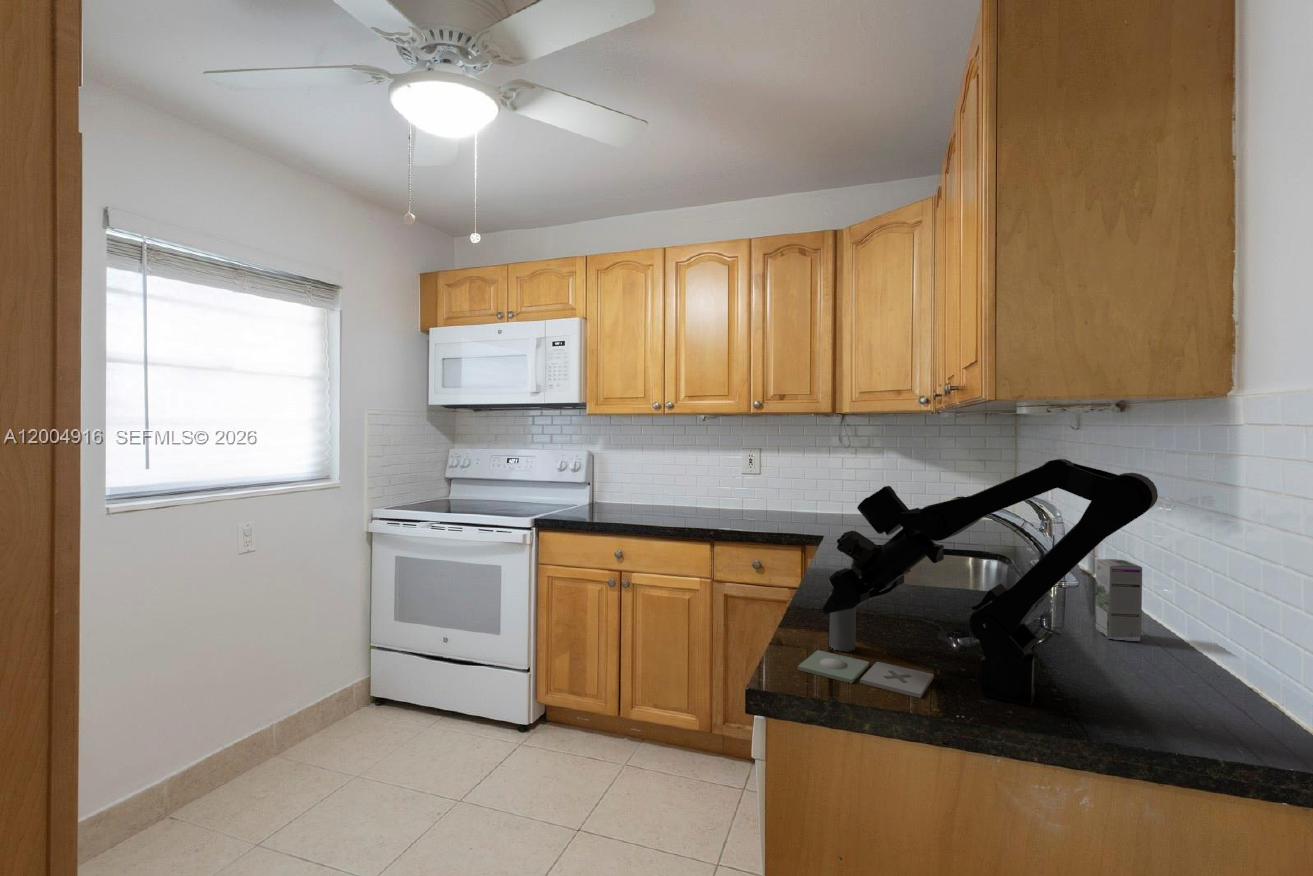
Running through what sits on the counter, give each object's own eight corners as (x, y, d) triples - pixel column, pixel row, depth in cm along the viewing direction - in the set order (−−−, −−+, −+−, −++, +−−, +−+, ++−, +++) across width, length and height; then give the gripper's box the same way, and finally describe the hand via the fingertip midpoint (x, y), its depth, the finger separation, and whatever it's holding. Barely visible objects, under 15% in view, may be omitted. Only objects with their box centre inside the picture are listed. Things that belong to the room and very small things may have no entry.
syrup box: (1142, 642, 118) (1145, 566, 118) (1107, 640, 120) (1109, 564, 119) (1126, 632, 124) (1128, 559, 124) (1092, 630, 125) (1095, 558, 125)
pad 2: (933, 678, 101) (933, 673, 101) (920, 698, 94) (920, 693, 94) (876, 665, 106) (876, 660, 106) (860, 683, 99) (860, 678, 99)
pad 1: (869, 665, 106) (869, 661, 106) (851, 683, 99) (851, 679, 99) (817, 653, 111) (817, 649, 111) (797, 669, 104) (797, 665, 104)
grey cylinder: (845, 642, 117) (846, 587, 117) (860, 650, 113) (861, 593, 113) (824, 644, 116) (825, 589, 116) (838, 653, 112) (839, 595, 111)
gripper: (889, 512, 118) (833, 561, 126) (841, 524, 104) (782, 578, 112) (931, 562, 112) (870, 609, 120) (886, 581, 99) (821, 633, 107)
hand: (836, 605), depth 115 cm, fingers open, 9 cm apart
